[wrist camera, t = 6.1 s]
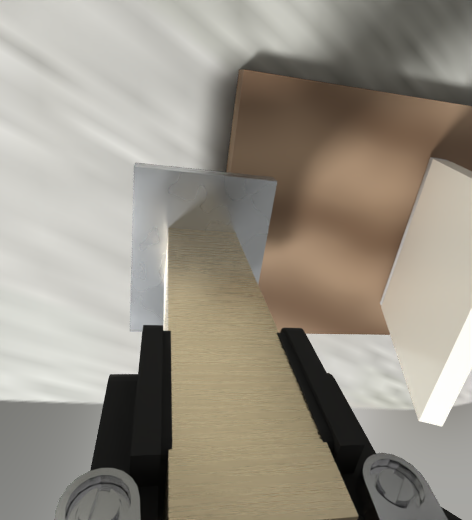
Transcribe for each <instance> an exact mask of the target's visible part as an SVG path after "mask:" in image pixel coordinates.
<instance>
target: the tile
mask: <svg viewBox="0 0 472 520" xmlns="http://www.w3.org/2000/svg"><path fill="white" fill-rule="evenodd" d="M380 305H381V308H382V311H383V314H384V317H385V320H386V323H387V326H388V329H389V332H390V335H391V338H392V342H393V345H394V348H395V351H396V354H397V357H398V360H399V363H400V366H401V369H402V372H403V375H404V378H405V381H406V384H407V387H408V390H409V393H410V396H411V399H412V402H413V405H414V408H415V411H416V414H417V417H418V420H419V421H422V422H426V423H430V424H434V425H439V426H442V425H443V424H444V422H445V420H446V418H447V416H448V414H449V412H450V410H451V408H452V406H453V404H454V402H455V400H456V398H457V396H458V394H459V392H460V390H461V388H462V386H463V384H464V382H465V381H466V379H467V377H468V375H469V373H470V371H471V369H472V171H470V170H468V169H466V168H464V167H461V166H459V165H457V164H455V163H453V162H450V161H448V160H445V159H441V158H435V157H430V159H429V162H428V165H427V168H426V171H425V174H424V177H423V180H422V182H421V185H420V188H419V191H418V194H417V197H416V200H415V203H414V206H413V208H412V211H411V214H410V217H409V220H408V223H407V226H406V229H405V232H404V234H403V237H402V240H401V243H400V246H399V249H398V252H397V255H396V257H395V260H394V263H393V266H392V269H391V272H390V275H389V278H388V281H387V283H386V286H385V289H384V292H383V295H382V298H381V301H380Z"/></svg>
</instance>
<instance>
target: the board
mask: <svg viewBox="0 0 472 520" xmlns="http://www.w3.org/2000/svg"><path fill="white" fill-rule="evenodd" d="M430 157H435V158H441V159H445V160H448V161H450V162H453V163H455V164H457V165H459V166H461V167H464V168H466V169H468V170H470V171H472V106H467V105H461V104H454V103H448V102H442V101H436V100H430V99H424V98H417V97H411V96H405V95H399V94H393V93H387V92H380V91H374V90H368V89H362V88H356V87H350V86H343V85H337V84H331V83H325V82H319V81H313V80H306V79H300V78H294V77H288V76H282V75H276V74H269V73H263V72H257V71H251V70H245V69H242V70H239V73H238V81H237V89H236V97H235V105H234V113H233V121H232V129H231V136H230V144H229V152H228V160H227V168H226V172H230V173H240V174H249V175H259V176H268V177H273V178H274V179H275V180H276V181H277V186H276V191H275V197H274V202H273V207H272V213H271V218H270V224H269V229H268V235H267V240H266V245H265V251H264V256H263V262H262V267H261V273H260V278H259V284H258V286H259V288H260V290H261V293H262V295H263V297H264V299H265V302H266V304H267V306H268V309H269V311H270V313H271V316H272V318H273V320H274V322H275V325H276V327H277V329H278V332H279V333H280V332H281V329H282V328H302V329H303V330H304V332H305V333H307V334H379V335H390V332H389V329H388V326H387V323H386V320H385V317H384V314H383V311H382V308H381V305H380V301H381V298H382V295H383V292H384V289H385V286H386V283H387V281H388V278H389V275H390V272H391V269H392V266H393V263H394V260H395V257H396V255H397V252H398V249H399V246H400V243H401V240H402V237H403V234H404V232H405V229H406V226H407V223H408V220H409V217H410V214H411V211H412V208H413V206H414V203H415V200H416V197H417V194H418V191H419V188H420V185H421V182H422V180H423V177H424V174H425V171H426V168H427V165H428V162H429V159H430Z"/></svg>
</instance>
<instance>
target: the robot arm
mask: <svg viewBox="0 0 472 520" xmlns="http://www.w3.org/2000/svg"><path fill="white" fill-rule="evenodd" d="M277 334H278V337H279V339H280V342H281V344H282V346H283V349H284V351H285V353H286V356H287V358H288V360H289V363H290V365H291V367H292V370H293V372H294V375H295V377H296V379H297V382H298V384H299V386H300V389H301V391H302V393H303V396H304V398H305V400H306V403H307V405H308V407H309V410H310V412H311V415H312V417H313V419H314V422H315V424H316V426H317V429H318V431H319V433H320V436H321V438H322V440H323V442H327V444H328V447H329V449H330V451H331V454H332V456H333V458H334V461H335V463H336V465H337V467H338V470H339V472H340V474H341V477H342V479H343V481H344V484H345V486H346V488H347V490H348V493H349V495H350V497H351V500H352V502H353V504H354V507H355V509H356V511H357V514H358V516H359V517H358V519H357V520H461V519H460V518H458V517H457V516H455V515H453V514H452V513H450V512H449V511H447V510H445V509H444V508H442V507H441V506H440V504H439V503H438V501H437V499H436V497H435V495H434V494H433V492H432V490H431V488H430V486H429V484H428V483H427V481H426V480H425V478H424V477H423V476H422V474H421V473H420V472H419V471H418V470H417V469H416V468H415V467H414V466H413V465H411V464H410V463H408V462H407V461H405V460H404V459H402V458H399V457H397V456H395V455H392V454H386V453H378V454H376V453H375V451H374V449H373V447H372V446H371V444H370V442H369V440H368V438H367V436H366V435H365V433H364V431H363V429H362V427H361V426H360V424H359V422H358V420H357V419H356V417H355V415H354V413H353V411H352V409H351V407H350V406H349V404H348V402H347V400H346V398H345V397H344V395H343V393H342V391H341V389H340V388H339V386H338V384H337V382H336V380H335V379H334V377H333V376H332V375H331V374H329V373H326V371H325V369H324V367H323V365H322V364H321V362H320V360H319V358H318V356H317V354H316V352H315V351H314V349H313V347H312V345H311V343H310V341H309V339H308V337H307V336H306V334H305V332H304V330H303V329H302V328H282V329H281V332H280V333H278V332H277ZM169 449H172V380H171V331H163V325H143V332H142V342H141V352H140V362H139V372H138V374H110V376H109V379H108V384H107V389H106V394H105V399H104V404H103V409H102V415H101V420H100V425H99V430H98V435H97V440H96V445H95V450H94V456H93V461H92V465H91V470H90V471H89V472H87V473H85V474H83V475H81V476H79V477H78V478H77V479H75V480H74V481H73V482H72V483H71V484H70V485H69V486H68V487H67V488H66V490H65V491H64V493H63V494H62V496H61V497H60V499H59V502H58V505H57V508H56V512H55V519H54V520H163V510H164V499H165V488H166V477H167V466H168V450H169Z"/></svg>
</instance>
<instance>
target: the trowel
mask: <svg viewBox="0 0 472 520" xmlns="http://www.w3.org/2000/svg"><path fill="white" fill-rule="evenodd" d="M276 186H277V181H276V180H275V179H274V178H273V177H268V176H259V175H249V174H240V173H230V172H220V171H211V170H201V169H192V168H182V167H172V166H163V165H153V164H144V163H135V165H134V186H133V226H132V265H131V305H130V331H139V332H143V325H163V331H171V380H172V449H169V450H168V466H167V477H166V488H165V499H164V510H163V520H357V519H358V517H359V516H358V514H357V511H356V509H355V507H354V504H353V502H352V500H351V497H350V495H349V493H348V490H347V488H346V486H345V484H344V481H343V479H342V477H341V474H340V472H339V470H338V467H337V465H336V463H335V461H334V458H333V456H332V454H331V451H330V449H329V447H328V444H327V442H323V440H322V438H321V436H320V433H319V431H318V429H317V426H316V424H315V422H314V419H313V417H312V415H311V412H310V410H309V407H308V405H307V403H306V400H305V398H304V396H303V393H302V391H301V389H300V386H299V384H298V382H297V379H296V377H295V375H294V372H293V370H292V367H291V365H290V363H289V360H288V358H287V356H286V353H285V351H284V349H283V346H282V344H281V342H280V339H279V337H278V334H277V332H278V329H277V327H276V325H275V322H274V320H273V318H272V316H271V313H270V311H269V309H268V306H267V304H266V302H265V299H264V297H263V295H262V293H261V290H260V288H259V286H258V284H259V278H260V273H261V267H262V262H263V256H264V251H265V245H266V240H267V235H268V229H269V224H270V218H271V213H272V207H273V202H274V197H275V191H276ZM278 333H279V332H278Z"/></svg>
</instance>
